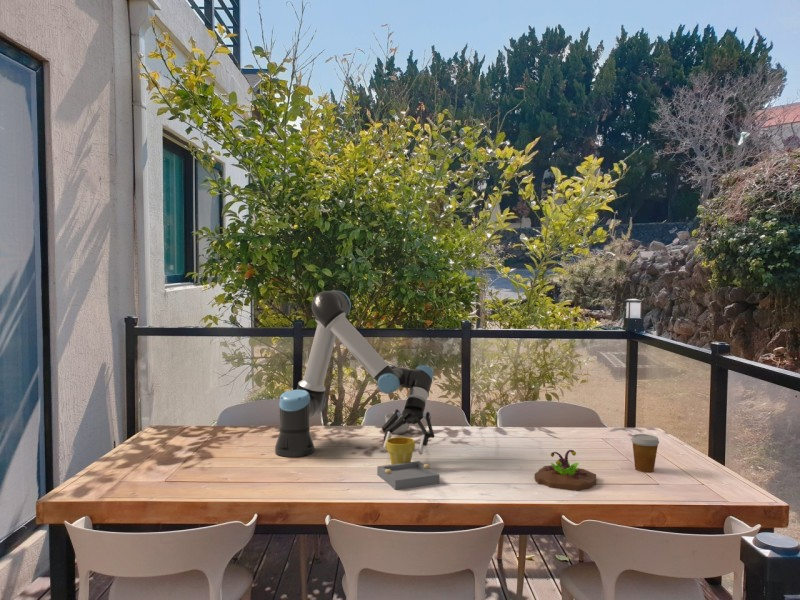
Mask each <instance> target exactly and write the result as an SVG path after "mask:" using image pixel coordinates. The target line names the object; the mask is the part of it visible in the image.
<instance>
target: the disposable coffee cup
mask: <svg viewBox="0 0 800 600" xmlns="http://www.w3.org/2000/svg"><path fill="white" fill-rule="evenodd" d="M630 440H631V442H632V449H633V450H632V451H633V460H634V469H635V470H636V471H639V472H641V473H653V472H654V471H655V465H656V458H657V453H658V445H659V444H660V440H659V438H658V436H654V435H652V434H646V433H645V434H644V433H635V434H633V435H632V437H631V438H630Z"/></svg>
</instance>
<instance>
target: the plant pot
mask: <svg viewBox="0 0 800 600" xmlns="http://www.w3.org/2000/svg"><path fill="white" fill-rule="evenodd" d="M386 446H387V452H388V455H389V461H390V465H391V464H399V463H407V462H412V458H413V454H414V453H413V452H415V448H416V442H415V439H414V438H411V437H406V436H394V437H391V438H390V439H388V440H387V441H386Z"/></svg>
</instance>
